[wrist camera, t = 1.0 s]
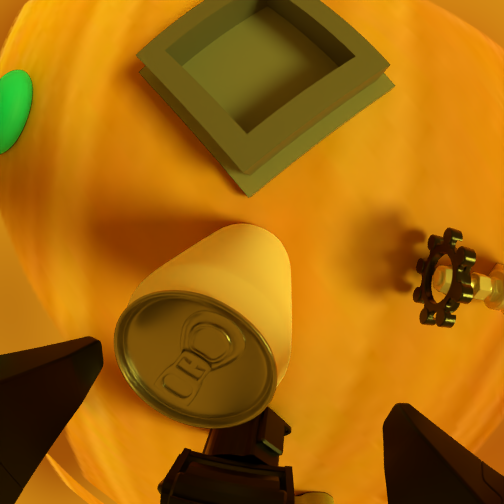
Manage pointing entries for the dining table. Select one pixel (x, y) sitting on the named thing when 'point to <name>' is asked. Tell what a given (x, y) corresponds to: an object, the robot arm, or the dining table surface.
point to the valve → (455, 281)
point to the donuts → (14, 106)
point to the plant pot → (314, 498)
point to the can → (211, 329)
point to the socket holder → (263, 80)
